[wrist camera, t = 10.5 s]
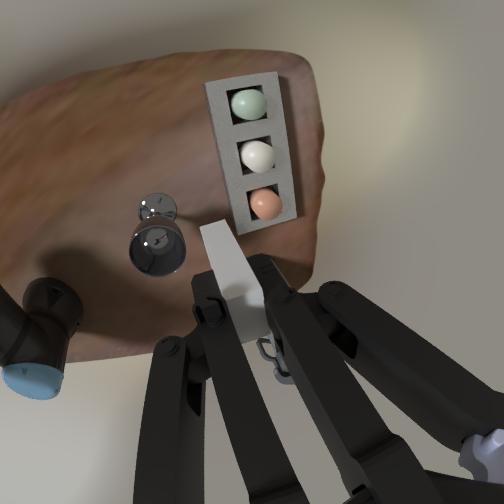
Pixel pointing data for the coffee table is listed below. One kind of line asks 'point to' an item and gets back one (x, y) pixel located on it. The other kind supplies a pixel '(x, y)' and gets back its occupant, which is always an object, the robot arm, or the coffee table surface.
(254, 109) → the pale green rounded egg
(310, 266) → the coffee table surface
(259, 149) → the white egg
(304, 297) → the robot arm
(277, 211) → the brown egg
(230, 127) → the panel
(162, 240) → the wine glass
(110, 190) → the coffee table surface
